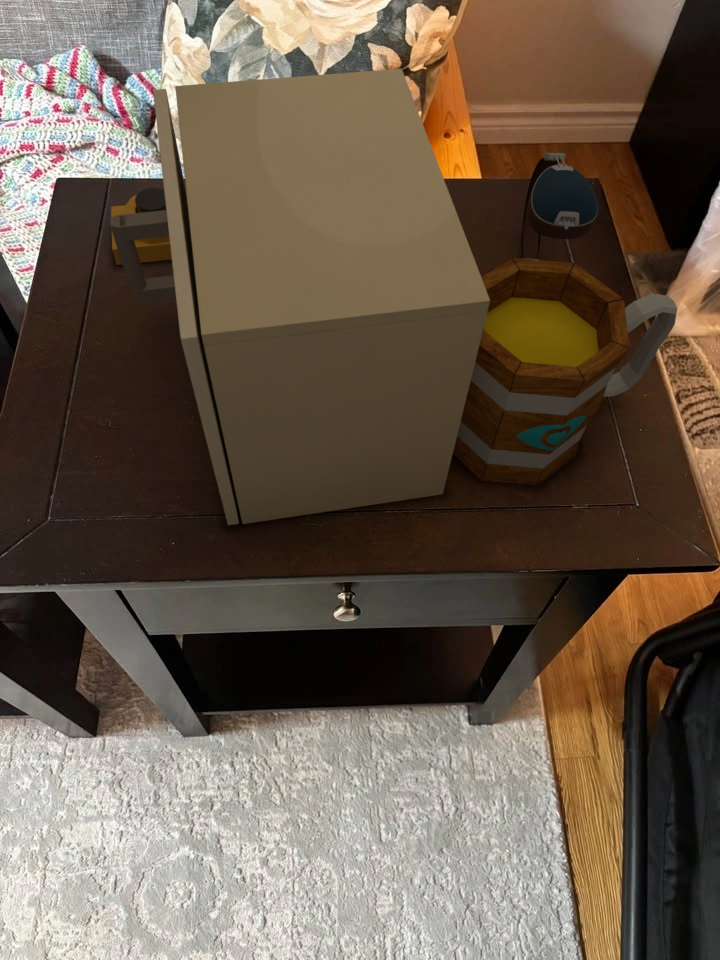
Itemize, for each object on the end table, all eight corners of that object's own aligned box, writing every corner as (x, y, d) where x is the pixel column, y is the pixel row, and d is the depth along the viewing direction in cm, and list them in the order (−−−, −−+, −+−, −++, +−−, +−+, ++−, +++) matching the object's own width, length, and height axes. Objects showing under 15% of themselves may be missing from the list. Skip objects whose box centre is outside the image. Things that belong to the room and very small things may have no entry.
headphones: (576, 384, 73) (551, 247, 87) (624, 253, 61) (586, 117, 74) (512, 381, 73) (497, 244, 87) (547, 249, 61) (523, 114, 74)
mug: (468, 503, 67) (500, 401, 54) (418, 388, 74) (435, 273, 61) (662, 452, 71) (735, 344, 58) (597, 347, 77) (649, 229, 64)
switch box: (116, 265, 81) (107, 235, 78) (115, 222, 85) (106, 192, 82) (209, 255, 83) (204, 226, 79) (204, 213, 86) (199, 183, 83)
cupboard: (242, 524, 65) (201, 334, 45) (216, 308, 78) (175, 85, 58) (442, 494, 67) (490, 300, 47) (384, 289, 81) (401, 68, 60)
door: (159, 537, 64) (80, 352, 44) (142, 316, 77) (75, 96, 57) (239, 524, 65) (197, 336, 45) (209, 308, 78) (165, 88, 58)
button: (139, 225, 80) (135, 211, 78) (137, 202, 81) (134, 189, 80) (173, 221, 80) (170, 208, 78) (171, 199, 82) (168, 185, 80)
